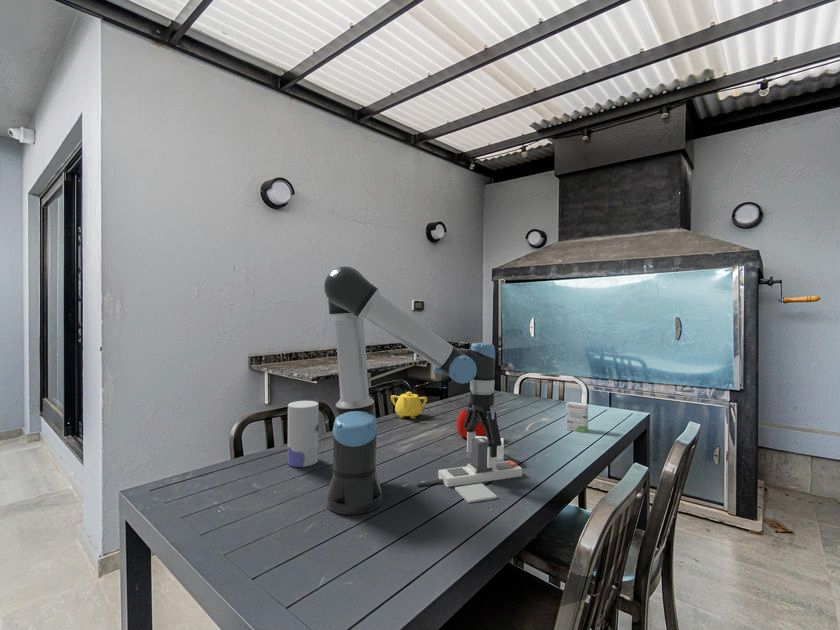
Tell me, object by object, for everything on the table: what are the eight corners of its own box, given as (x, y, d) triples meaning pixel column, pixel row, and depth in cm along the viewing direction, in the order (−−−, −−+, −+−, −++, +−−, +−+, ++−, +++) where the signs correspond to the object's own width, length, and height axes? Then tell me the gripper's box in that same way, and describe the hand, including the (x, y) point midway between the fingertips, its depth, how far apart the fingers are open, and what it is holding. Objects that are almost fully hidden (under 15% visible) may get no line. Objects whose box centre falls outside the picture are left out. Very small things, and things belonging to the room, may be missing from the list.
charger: (477, 472, 129) (478, 443, 129) (471, 466, 133) (471, 438, 133) (490, 470, 131) (490, 441, 131) (483, 465, 135) (484, 437, 135)
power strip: (420, 491, 121) (420, 478, 121) (412, 481, 128) (412, 469, 128) (522, 476, 133) (522, 464, 133) (510, 467, 140) (510, 457, 140)
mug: (503, 465, 142) (503, 442, 142) (473, 462, 144) (474, 440, 144) (503, 453, 154) (503, 431, 154) (476, 451, 156) (476, 429, 156)
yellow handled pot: (387, 415, 203) (387, 391, 203) (411, 411, 212) (411, 388, 212) (403, 422, 192) (404, 396, 192) (428, 417, 201) (428, 393, 201)
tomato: (495, 438, 170) (495, 413, 170) (470, 444, 163) (471, 417, 163) (473, 430, 182) (473, 406, 181) (449, 435, 174) (449, 410, 174)
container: (323, 461, 143) (324, 403, 142) (297, 470, 135) (298, 408, 135) (307, 454, 150) (308, 398, 149) (281, 461, 142) (282, 403, 142)
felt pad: (468, 503, 115) (468, 500, 115) (454, 489, 123) (454, 487, 123) (497, 498, 118) (497, 496, 118) (481, 485, 126) (481, 483, 126)
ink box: (588, 430, 184) (588, 403, 184) (585, 433, 180) (586, 405, 180) (568, 426, 189) (568, 401, 189) (565, 429, 185) (565, 403, 185)
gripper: (514, 400, 121) (512, 472, 122) (474, 384, 144) (473, 445, 145) (491, 401, 118) (490, 475, 119) (454, 385, 142) (453, 447, 142)
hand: (480, 459), depth 132 cm, fingers open, 13 cm apart
